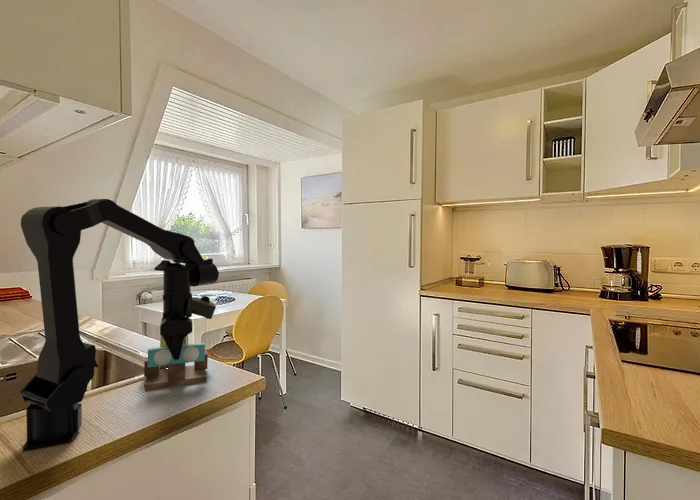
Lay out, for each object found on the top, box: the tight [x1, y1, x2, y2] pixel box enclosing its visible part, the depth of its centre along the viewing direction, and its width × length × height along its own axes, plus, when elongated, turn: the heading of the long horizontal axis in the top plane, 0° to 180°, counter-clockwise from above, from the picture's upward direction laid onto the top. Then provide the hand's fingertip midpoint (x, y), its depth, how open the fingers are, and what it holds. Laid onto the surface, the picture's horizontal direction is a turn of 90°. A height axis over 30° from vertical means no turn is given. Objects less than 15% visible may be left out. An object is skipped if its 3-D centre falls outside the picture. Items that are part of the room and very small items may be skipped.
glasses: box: [147, 342, 206, 367], centre depth 86 cm, size 12×8×4 cm, turn 116°
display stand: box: [143, 350, 209, 391], centre depth 87 cm, size 14×9×5 cm, turn 116°
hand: (176, 354), depth 83 cm, fingers open, 7 cm apart
